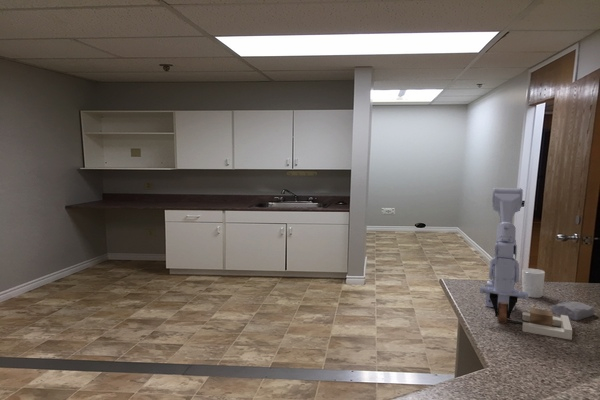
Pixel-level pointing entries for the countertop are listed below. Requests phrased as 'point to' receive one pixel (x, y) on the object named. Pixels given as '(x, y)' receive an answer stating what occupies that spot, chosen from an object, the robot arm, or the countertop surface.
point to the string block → (535, 315)
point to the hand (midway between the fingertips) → (502, 316)
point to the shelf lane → (549, 327)
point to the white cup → (533, 282)
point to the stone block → (573, 310)
